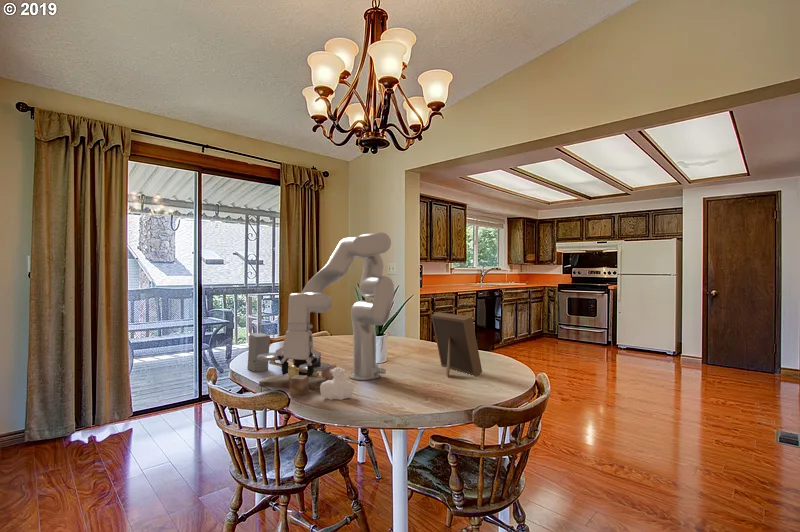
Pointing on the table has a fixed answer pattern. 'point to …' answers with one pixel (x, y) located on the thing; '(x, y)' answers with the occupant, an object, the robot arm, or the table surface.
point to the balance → (293, 369)
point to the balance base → (284, 381)
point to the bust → (337, 386)
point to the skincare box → (258, 351)
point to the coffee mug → (298, 363)
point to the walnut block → (299, 385)
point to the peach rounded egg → (328, 372)
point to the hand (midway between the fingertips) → (297, 375)
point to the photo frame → (457, 343)
